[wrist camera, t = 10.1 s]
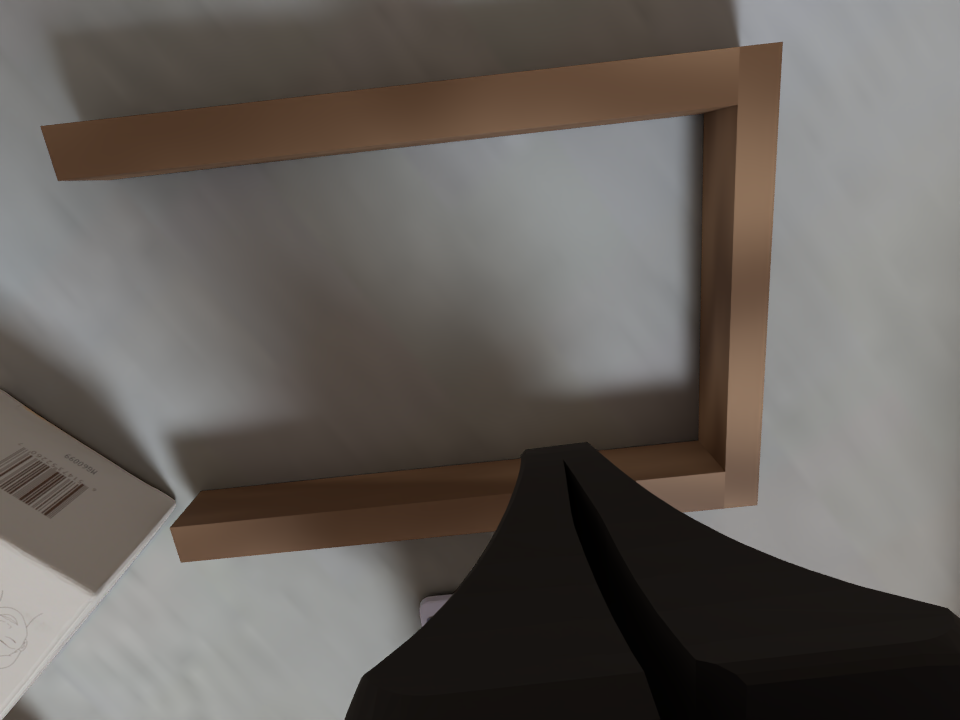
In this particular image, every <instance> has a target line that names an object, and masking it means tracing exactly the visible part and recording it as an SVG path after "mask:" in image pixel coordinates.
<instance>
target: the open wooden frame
mask: <svg viewBox="0 0 960 720" xmlns="http://www.w3.org/2000/svg"><path fill="white" fill-rule="evenodd" d="M782 46H783V42H777V43H769V44H760V45H751V46H742V47H733V48H724V49H716V50H707V51H698V52H689V53H680V54H672V55H663V56H654V57H645V58H636V59H628V60H619V61H610V62H601V63H592V64H584V65H575V66H566V67H557V68H548V69H540V70H531V71H522V72H513V73H504V74H495V75H487V76H478V77H469V78H460V79H451V80H443V81H434V82H425V83H416V84H407V85H399V86H390V87H381V88H372V89H363V90H355V91H346V92H337V93H328V94H319V95H311V96H302V97H293V98H284V99H275V100H266V101H258V102H249V103H240V104H231V105H222V106H214V107H205V108H196V109H187V110H178V111H170V112H161V113H152V114H143V115H134V116H126V117H117V118H108V119H99V120H90V121H82V122H73V123H64V124H55V125H46V126H41V130H42V133H43V136H44V139H45V142H46V145H47V148H48V151H49V154H50V158H51V161H52V164H53V167H54V170H55V173H56V176H57V179H58V181H76V180H114V179H123V178H132V177H141V176H150V175H159V174H168V173H177V172H185V171H194V170H203V169H212V168H221V167H230V166H239V165H248V164H257V163H266V162H275V161H284V160H293V159H302V158H311V157H320V156H329V155H338V154H347V153H356V152H365V151H374V150H383V149H391V148H400V147H409V146H418V145H427V144H436V143H445V142H454V141H463V140H472V139H481V138H490V137H499V136H508V135H517V134H526V133H535V132H544V131H553V130H562V129H571V128H580V127H589V126H597V125H606V124H615V123H624V122H633V121H642V120H651V119H660V118H669V117H678V116H687V115H696V114H704V137H703V197H702V256H701V315H700V374H699V433H698V440H697V441H688V442H678V443H668V444H658V445H648V446H639V447H629V448H619V449H609V450H599V452H600V453H601V454H602V455H603V456H605V457H606V458H607V459H608V460H609V461H610V462H612V463H613V464H614V465H615V466H617V467H618V468H619V469H620V470H621V471H623V472H624V473H625V474H627V475H628V476H629V477H630V478H632V479H633V480H634V481H636V482H637V483H638V484H640V485H641V486H642V487H644V488H645V489H647V490H648V491H650V492H651V493H652V494H654V495H655V496H657V497H658V498H660V499H662V500H663V501H665V502H666V503H668V504H669V505H671V506H672V507H674V508H676V509H677V510H679V511H680V512H693V511H703V510H713V509H723V508H733V507H743V506H753V505H757V501H758V483H759V464H760V446H761V428H762V410H763V392H764V373H765V355H766V337H767V319H768V301H769V282H770V264H771V246H772V228H773V210H774V191H775V173H776V155H777V137H778V118H779V100H780V82H781V64H782ZM520 464H521V459H511V460H501V461H491V462H481V463H472V464H462V465H452V466H442V467H432V468H423V469H413V470H403V471H393V472H383V473H373V474H364V475H354V476H344V477H334V478H324V479H315V480H305V481H295V482H285V483H275V484H265V485H256V486H246V487H236V488H226V489H216V490H207V491H201V492H200V493H199V494H198V495H197V496H196V498H195V499H194V500H193V501H192V502H191V503H190V505H189V506H188V507H187V508H186V509H185V511H184V512H183V513H182V514H181V515H180V516H179V518H178V519H177V520H176V521H175V522H174V523H173V525H172V526H171V527H170V530H171V533H172V536H173V540H174V543H175V546H176V549H177V552H178V555H179V558H180V561H181V562H191V561H201V560H211V559H221V558H231V557H241V556H251V555H261V554H271V553H281V552H291V551H301V550H311V549H322V548H332V547H342V546H352V545H362V544H372V543H382V542H392V541H402V540H412V539H422V538H432V537H442V536H452V535H462V534H472V533H482V532H492V531H496V529H497V527H498V525H499V523H500V521H501V519H502V517H503V515H504V513H505V511H506V509H507V506H508V504H509V501H510V498H511V496H512V493H513V490H514V487H515V485H516V481H517V478H518V474H519V470H520Z"/></svg>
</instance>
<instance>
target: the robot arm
mask: <svg viewBox="0 0 960 720" xmlns="http://www.w3.org/2000/svg"><path fill="white" fill-rule="evenodd" d="M419 613H420V619H421V625H422V628H421V629H420V630H419V631H417V632H416V633H415V634H414V635H413V636H412V637H411V638H410V639H409V640H407V641H406V642H405V643H404V644H402V645H401V646H400V647H399V648H397V649H396V650H395V651H394V652H392V653H391V654H390V655H389V656H387V657H386V658H385V659H384V660H383V661H381V662H380V663H379V664H378V665H376V666H375V667H374V668H372V669H371V670H370V671H368V672H367V673H366V674H364V675H363V677H362V678H361V680H360V682H359V685H358V687H357V689H356V692H355V694H354V697H353V699H352V702H351V704H350V707H349V709H348V711H347V714H346V717H345V720H960V618H959V617H958V616H956V615H955V614H954V613H953V612H951V611H950V610H949V609H948V608H945V607H941V606H937V605H933V604H929V603H925V602H921V601H917V600H913V599H909V598H905V597H901V596H897V595H893V594H889V593H885V592H881V591H877V590H873V589H869V588H865V587H862V586H858V585H855V584H851V583H848V582H845V581H842V580H839V579H836V578H833V577H830V576H826V575H823V574H820V573H817V572H814V571H811V570H808V569H805V568H803V567H800V566H797V565H794V564H791V563H789V562H786V561H783V560H781V559H778V558H776V557H773V556H771V555H768V554H766V553H764V552H761V551H759V550H756V549H754V548H752V547H749V546H747V545H744V544H742V543H740V542H738V541H736V540H734V539H731V538H729V537H727V536H725V535H723V534H721V533H719V532H717V531H715V530H713V529H711V528H710V527H708V526H706V525H704V524H702V523H700V522H698V521H696V520H694V519H692V518H691V517H689V516H687V515H686V514H684V513H682V512H680V511H679V510H677V509H676V508H674V507H672V506H671V505H669V504H668V503H666V502H665V501H663V500H662V499H660V498H658V497H657V496H655V495H654V494H652V493H651V492H650V491H648V490H647V489H645V488H644V487H642V486H641V485H640V484H638V483H637V482H636V481H634V480H633V479H632V478H630V477H629V476H628V475H627V474H625V473H624V472H623V471H621V470H620V469H619V468H618V467H617V466H615V465H614V464H613V463H612V462H610V461H609V460H608V459H607V458H606V457H605V456H603V455H602V454H601V453H600V452H599V451H597V450H596V449H595V448H594V447H592V446H591V445H590V444H589V443H588V442H584V443H576V444H568V445H559V446H551V447H543V448H535V449H527V450H525V451H524V452H523V453H522V454H521V464H520V470H519V474H518V478H517V481H516V485H515V487H514V490H513V493H512V496H511V498H510V501H509V504H508V506H507V509H506V511H505V513H504V515H503V517H502V519H501V521H500V523H499V525H498V527H497V529H496V531H495V533H494V535H493V537H492V539H491V540H490V542H489V544H488V546H487V547H486V549H485V551H484V552H483V554H482V555H481V557H480V558H479V560H478V561H477V563H476V564H475V566H474V567H473V569H472V570H471V571H470V573H469V574H468V575H467V577H466V578H465V579H464V581H463V582H462V583H461V585H460V586H459V587H458V589H457V590H456V591H455V592H454V593H453V594H450V595H439V596H430V597H426V598H424V599H423V600H422V601H421V603H420V610H419ZM431 616H432V617H431ZM428 617H431V618H428Z"/></svg>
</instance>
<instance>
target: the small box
mask: <svg viewBox="0 0 960 720" xmlns="http://www.w3.org/2000/svg"><path fill="white" fill-rule="evenodd" d="M175 507H176V501H175V500H174V499H172V498H171V497H169V496H168V495H166V494H165V493H163V492H161V491H160V490H158V489H156V488H153V487H152V486H150V485H148V484H146V483H145V482H143V481H141V480H140V479H138V478H136V477H135V476H133V475H132V474H130V473H128V472H127V471H125V470H124V469H122V468H121V467H119V466H118V465H116V464H114V463H113V462H111V461H110V460H108V459H106V458H105V457H103V456H102V455H100V454H99V453H97V452H95V451H94V450H92V449H90V448H89V447H87V446H86V445H84V444H83V443H81V442H79V441H78V440H76V439H75V438H73V437H72V436H70V435H68V434H67V433H65V432H64V431H62V430H61V429H59V428H58V427H56V426H55V425H53V424H51V423H50V422H48V421H47V420H45V419H44V418H42V417H40V416H39V415H37V414H36V413H34V412H33V411H32V410H30V409H29V408H27V407H26V406H24V405H23V404H22V403H20V402H19V401H17V400H16V399H14V398H13V397H12V396H10V395H9V394H8V393H6V392H5V391H3V390H1V389H0V720H2V719H3V718H4V717H5V716H6V715H7V713H8V712H9V711H10V710H11V709H12V708H13V706H14V705H15V704H16V703H17V702H18V700H19V699H20V698H21V697H22V696H23V694H24V693H25V692H26V691H27V690H28V689H29V687H30V686H31V685H32V684H33V683H34V681H35V680H36V679H37V678H38V677H39V676H40V674H41V673H42V672H43V671H44V669H45V668H46V667H47V666H48V665H49V663H50V662H51V661H52V660H53V659H54V657H55V656H56V655H57V654H58V653H59V651H60V650H61V649H62V648H63V647H64V645H65V644H66V643H67V642H68V641H69V639H70V638H71V637H72V636H73V634H74V633H75V632H76V631H77V630H78V628H79V627H80V626H81V625H82V623H83V622H84V621H85V620H86V619H87V617H88V616H89V615H90V614H91V613H92V611H93V610H94V609H95V608H96V607H97V605H98V604H99V603H100V602H101V601H102V599H103V598H104V597H105V596H106V594H107V593H108V592H109V591H110V589H111V588H112V587H113V586H114V584H115V583H116V582H117V581H118V580H119V578H120V577H121V576H122V575H123V573H124V572H125V571H126V570H127V568H128V567H129V566H130V565H131V563H132V562H133V561H134V560H135V558H136V557H137V556H138V555H139V553H140V552H141V551H142V550H143V548H144V547H145V546H146V545H147V543H148V542H149V541H150V540H151V538H152V537H153V536H154V535H155V533H156V532H157V531H158V530H159V528H160V527H161V526H162V524H163V523H164V522H165V521H166V519H167V518H168V517H169V515H170V514H171V513H172V511H173V510H174V509H175Z"/></svg>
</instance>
